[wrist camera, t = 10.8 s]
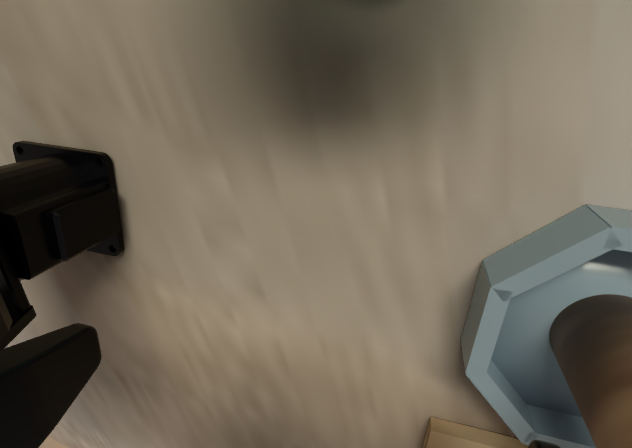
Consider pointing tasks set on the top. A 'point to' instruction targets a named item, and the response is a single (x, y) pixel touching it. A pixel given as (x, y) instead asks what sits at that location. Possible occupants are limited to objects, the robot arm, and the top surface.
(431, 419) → the trivet
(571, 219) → the dish
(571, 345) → the pepper mill
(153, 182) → the top surface
